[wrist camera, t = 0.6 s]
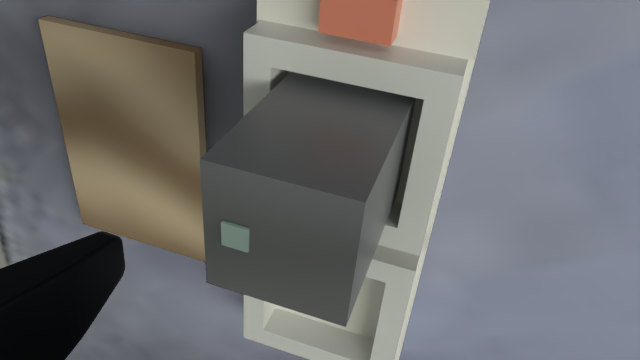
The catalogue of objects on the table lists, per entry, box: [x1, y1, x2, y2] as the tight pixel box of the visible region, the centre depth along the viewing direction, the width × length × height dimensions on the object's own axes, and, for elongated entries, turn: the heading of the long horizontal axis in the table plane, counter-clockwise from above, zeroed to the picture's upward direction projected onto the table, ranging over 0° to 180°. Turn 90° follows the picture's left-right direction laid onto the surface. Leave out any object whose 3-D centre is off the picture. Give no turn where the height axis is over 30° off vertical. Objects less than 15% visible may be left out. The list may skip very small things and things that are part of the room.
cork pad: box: [38, 16, 206, 261], centre depth 27 cm, size 12×8×1 cm, turn 175°
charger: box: [200, 72, 416, 327], centre depth 17 cm, size 4×4×7 cm
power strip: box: [243, 0, 491, 360], centre depth 23 cm, size 19×8×4 cm, turn 175°
